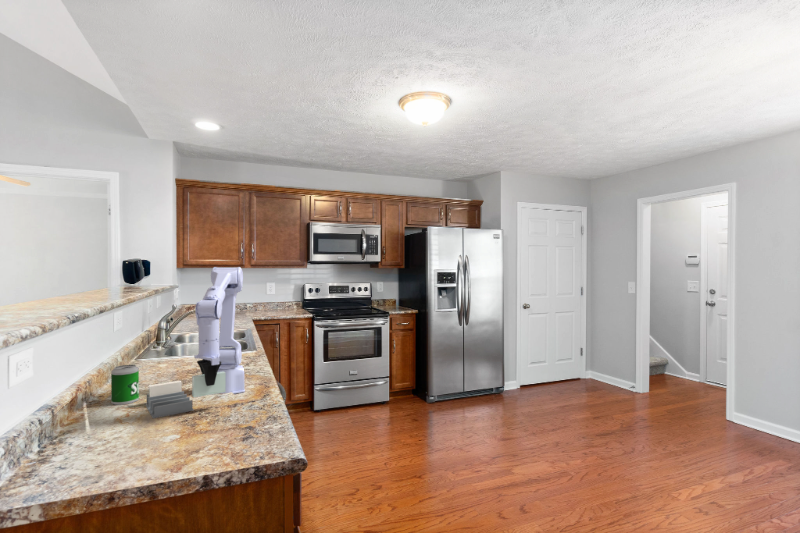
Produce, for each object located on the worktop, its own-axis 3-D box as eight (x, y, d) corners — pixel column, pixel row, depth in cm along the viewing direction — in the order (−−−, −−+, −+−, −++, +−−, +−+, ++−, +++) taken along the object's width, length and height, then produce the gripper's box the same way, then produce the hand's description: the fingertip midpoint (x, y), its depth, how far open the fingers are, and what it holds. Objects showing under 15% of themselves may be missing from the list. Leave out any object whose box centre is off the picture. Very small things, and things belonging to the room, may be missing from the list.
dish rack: (182, 399, 141) (182, 388, 141) (194, 412, 128) (194, 400, 128) (144, 406, 134) (144, 394, 134) (152, 421, 122) (152, 408, 122)
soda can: (125, 408, 132) (125, 370, 132) (105, 406, 134) (105, 369, 134) (144, 400, 140) (144, 364, 140) (125, 399, 141) (125, 363, 141)
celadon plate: (223, 390, 132) (223, 371, 132) (225, 392, 130) (225, 372, 130) (192, 395, 126) (192, 375, 126) (193, 397, 125) (193, 377, 125)
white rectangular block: (180, 398, 139) (180, 380, 139) (181, 400, 138) (181, 381, 138) (148, 404, 134) (148, 385, 134) (149, 406, 132) (149, 386, 132)
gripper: (189, 337, 131) (189, 381, 131) (200, 344, 120) (201, 392, 120) (213, 335, 136) (213, 377, 136) (226, 341, 124) (226, 387, 124)
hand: (209, 384), depth 128 cm, fingers closed on celadon plate, 2 cm apart
